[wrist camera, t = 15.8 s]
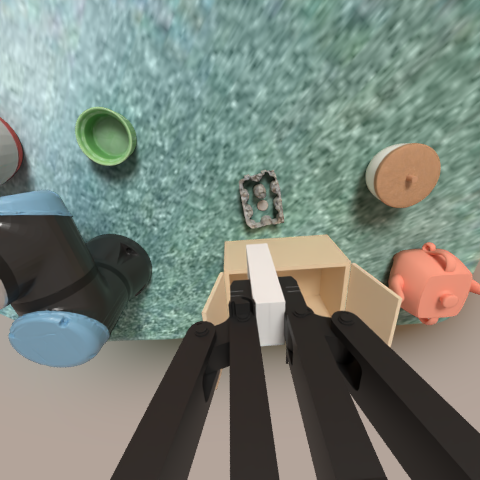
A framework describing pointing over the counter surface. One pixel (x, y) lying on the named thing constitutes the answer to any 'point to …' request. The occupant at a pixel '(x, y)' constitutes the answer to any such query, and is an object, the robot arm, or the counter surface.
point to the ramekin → (105, 136)
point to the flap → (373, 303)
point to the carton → (298, 268)
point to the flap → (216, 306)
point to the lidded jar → (403, 174)
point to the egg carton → (262, 205)
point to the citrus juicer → (9, 152)
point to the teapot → (431, 282)
